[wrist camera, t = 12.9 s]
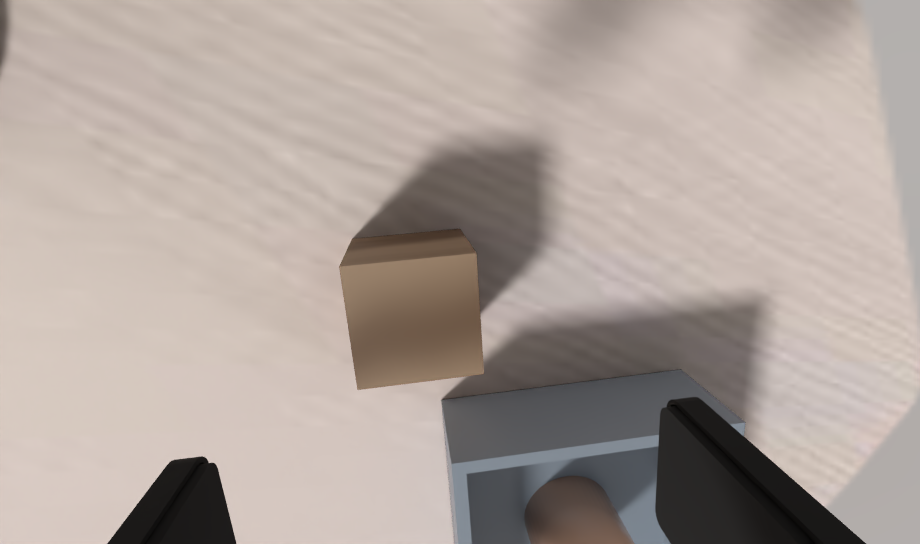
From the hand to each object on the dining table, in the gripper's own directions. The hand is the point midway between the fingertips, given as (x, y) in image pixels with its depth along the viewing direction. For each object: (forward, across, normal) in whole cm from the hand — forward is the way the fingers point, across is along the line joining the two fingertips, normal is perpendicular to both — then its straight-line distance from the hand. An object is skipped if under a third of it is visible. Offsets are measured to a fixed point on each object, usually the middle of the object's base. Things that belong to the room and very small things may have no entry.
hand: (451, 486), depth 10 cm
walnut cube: (+13, +1, 0) cm, 13 cm away
